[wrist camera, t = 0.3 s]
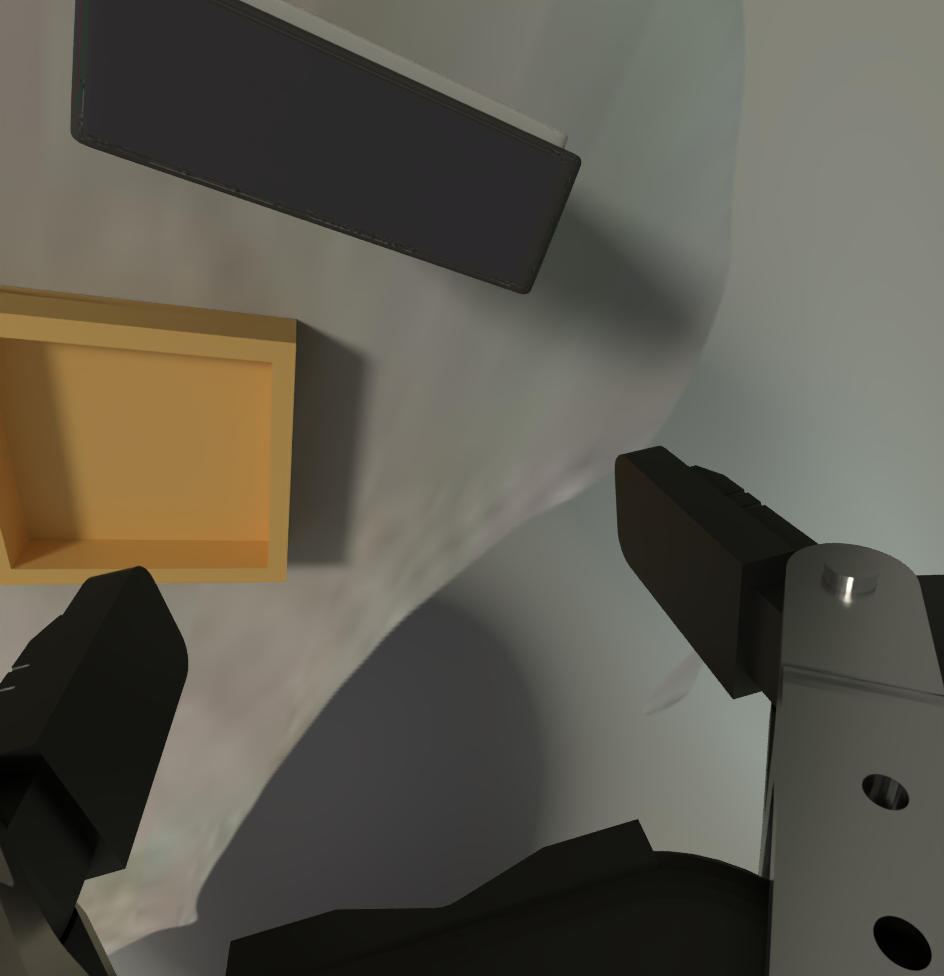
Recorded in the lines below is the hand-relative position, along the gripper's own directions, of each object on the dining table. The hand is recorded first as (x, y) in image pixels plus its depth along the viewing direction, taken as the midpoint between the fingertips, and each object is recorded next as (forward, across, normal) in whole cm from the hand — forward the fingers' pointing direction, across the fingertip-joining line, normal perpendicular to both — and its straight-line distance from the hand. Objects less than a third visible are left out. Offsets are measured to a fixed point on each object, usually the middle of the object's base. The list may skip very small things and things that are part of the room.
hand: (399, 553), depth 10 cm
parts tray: (+23, +12, +4) cm, 26 cm away
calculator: (+22, -1, -9) cm, 23 cm away
